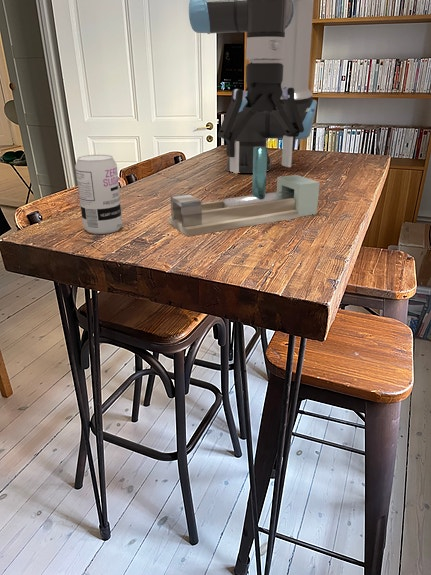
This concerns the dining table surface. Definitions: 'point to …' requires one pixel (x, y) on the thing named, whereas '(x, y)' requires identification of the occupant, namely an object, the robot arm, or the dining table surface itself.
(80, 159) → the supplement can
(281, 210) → the rail
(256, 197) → the sliding bolt
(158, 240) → the dining table surface
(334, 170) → the dining table surface
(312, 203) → the socket
